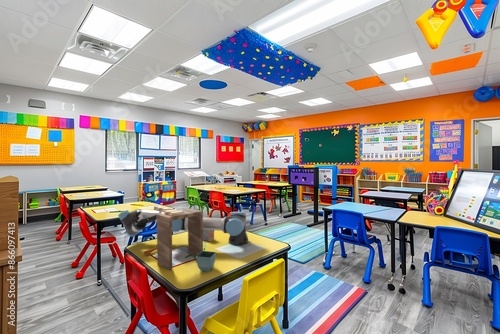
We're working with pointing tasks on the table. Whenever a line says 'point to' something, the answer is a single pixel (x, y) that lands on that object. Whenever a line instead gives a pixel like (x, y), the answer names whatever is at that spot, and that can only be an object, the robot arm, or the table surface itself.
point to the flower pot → (206, 260)
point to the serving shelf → (166, 235)
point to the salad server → (169, 211)
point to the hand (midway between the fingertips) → (152, 213)
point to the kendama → (149, 251)
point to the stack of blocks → (208, 235)
